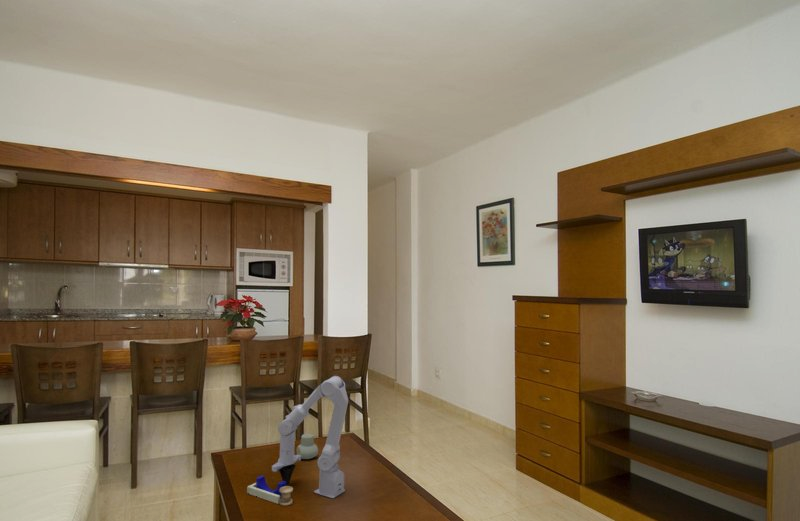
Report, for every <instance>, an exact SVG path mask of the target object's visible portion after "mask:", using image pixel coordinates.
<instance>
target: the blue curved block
mask: <svg viewBox="0 0 800 521" xmlns="http://www.w3.org/2000/svg"><path fill="white" fill-rule="evenodd" d="M255 481H256V482H255V483H256V488H259V489H262V490H265V491H268V492H271V493H274V494H277V495H280V496H281V497H280V499H282V493H280V488H281V487H284V486H287V485H286V481H282V480H281V482H280V481H279V483H277V487H276V488H275V489H274V490H273V489H272V488H270V487H269V486H268V484H267V482H266V476H265V475H260V476H257V477H256V480H255Z"/></svg>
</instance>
